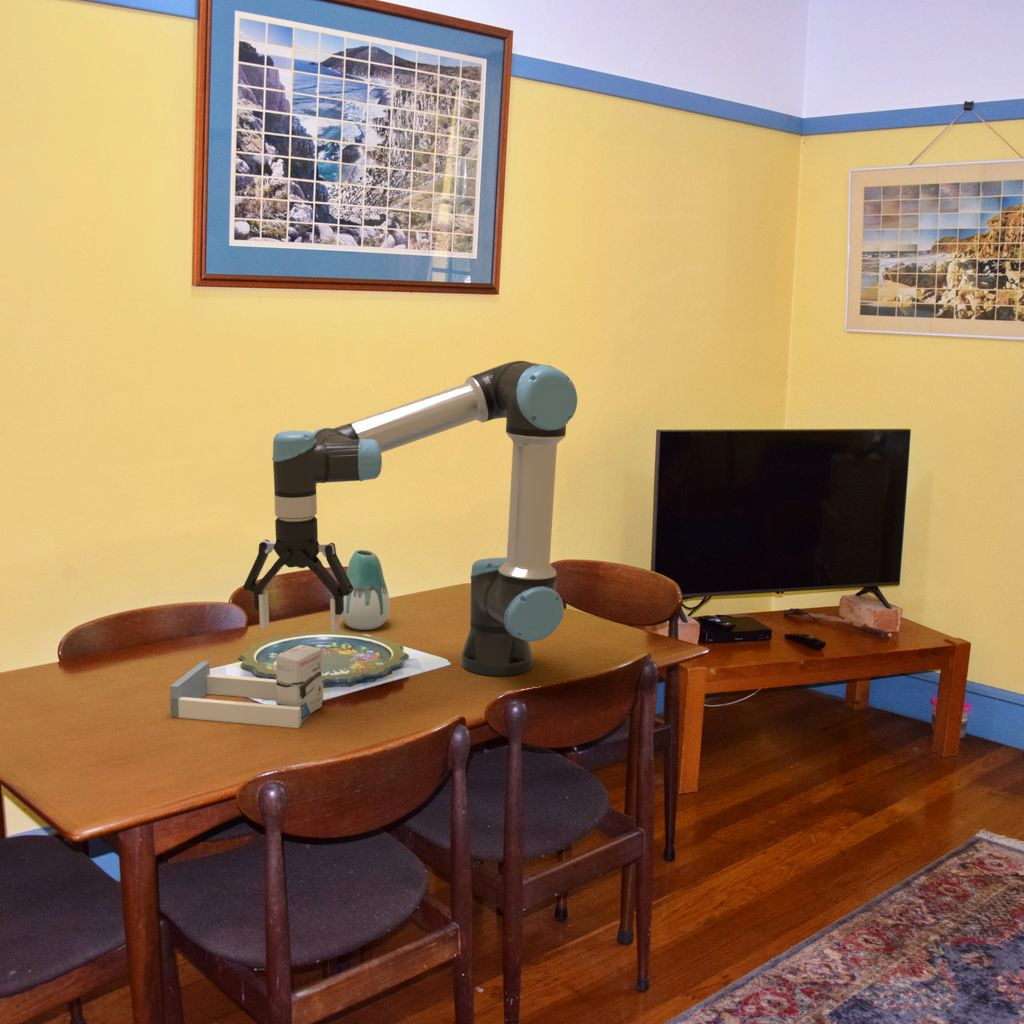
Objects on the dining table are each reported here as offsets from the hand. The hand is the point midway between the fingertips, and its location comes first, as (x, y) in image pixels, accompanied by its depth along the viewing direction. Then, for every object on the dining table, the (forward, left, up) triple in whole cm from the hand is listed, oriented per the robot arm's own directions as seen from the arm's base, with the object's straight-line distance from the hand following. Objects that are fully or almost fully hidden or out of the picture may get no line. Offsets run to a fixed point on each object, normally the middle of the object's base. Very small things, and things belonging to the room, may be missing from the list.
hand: (299, 629), depth 223 cm
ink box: (0, 0, -16) cm, 16 cm away
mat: (+1, 0, -16) cm, 16 cm away
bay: (+10, 0, -16) cm, 19 cm away
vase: (+4, -56, -17) cm, 58 cm away
